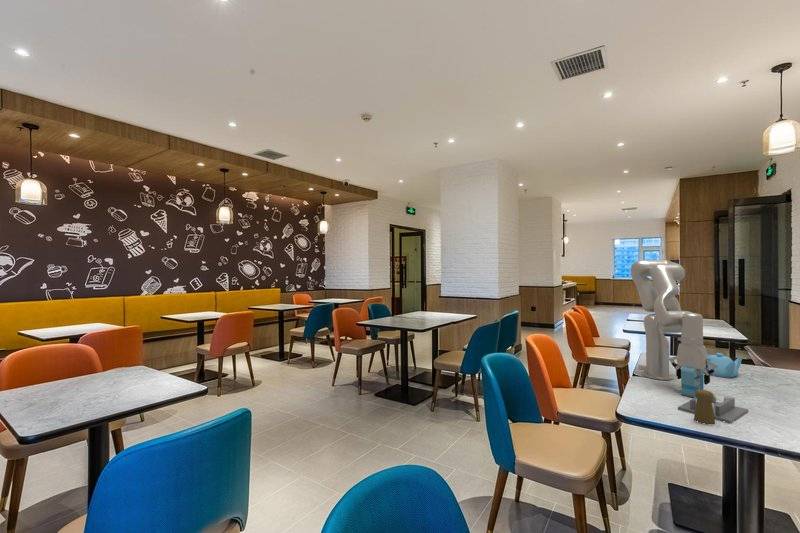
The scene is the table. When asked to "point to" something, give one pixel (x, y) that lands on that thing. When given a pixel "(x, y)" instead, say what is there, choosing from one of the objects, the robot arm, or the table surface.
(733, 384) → the table surface
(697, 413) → the cork
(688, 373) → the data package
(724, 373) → the teapot
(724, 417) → the tray
